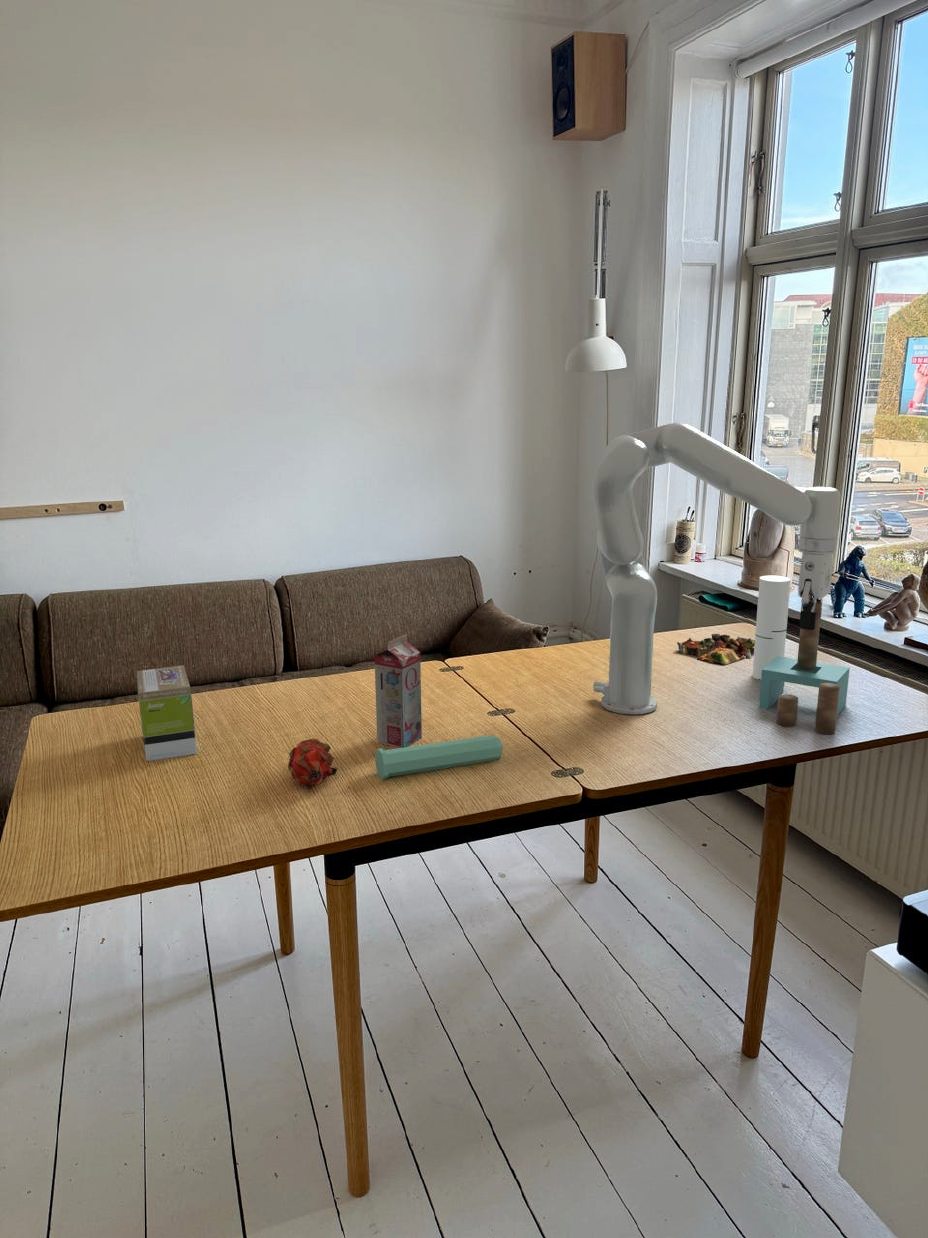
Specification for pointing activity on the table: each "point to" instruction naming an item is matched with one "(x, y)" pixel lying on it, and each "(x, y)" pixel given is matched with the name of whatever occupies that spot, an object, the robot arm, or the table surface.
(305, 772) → the dragon fruit
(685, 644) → the food
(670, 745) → the table surface
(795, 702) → the short pin
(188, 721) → the tea box
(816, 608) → the tall pin
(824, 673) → the teal bridge
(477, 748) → the container
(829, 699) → the medium pin
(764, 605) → the cylindrical container
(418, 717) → the juice carton
